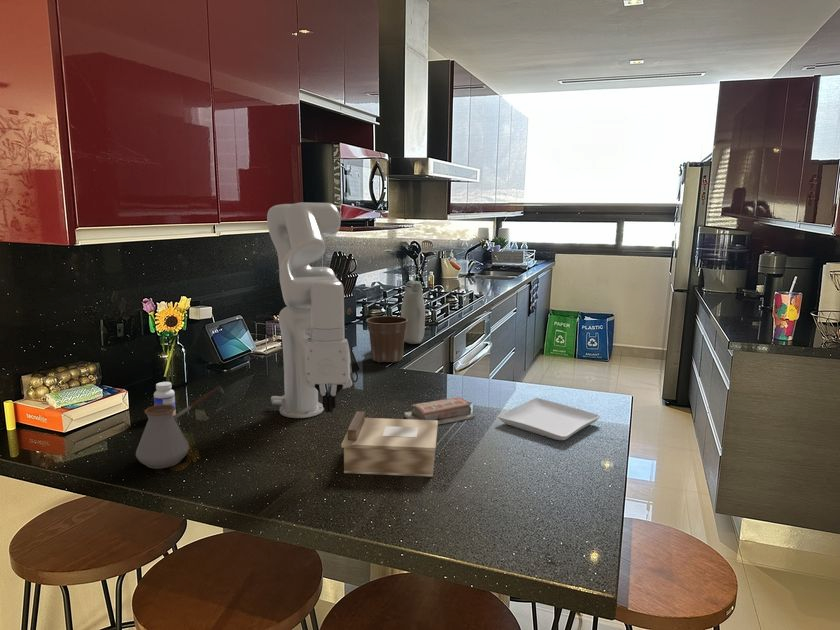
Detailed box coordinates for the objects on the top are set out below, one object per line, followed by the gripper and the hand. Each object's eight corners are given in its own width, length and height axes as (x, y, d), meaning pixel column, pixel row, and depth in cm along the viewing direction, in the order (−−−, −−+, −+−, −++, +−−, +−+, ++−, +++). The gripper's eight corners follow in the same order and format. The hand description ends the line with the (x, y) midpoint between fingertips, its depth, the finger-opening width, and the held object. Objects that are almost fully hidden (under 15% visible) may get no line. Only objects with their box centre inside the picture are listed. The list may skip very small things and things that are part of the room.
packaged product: (457, 393, 172) (475, 403, 163) (457, 408, 172) (475, 419, 164) (403, 401, 163) (419, 413, 155) (403, 417, 164) (419, 429, 156)
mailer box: (344, 472, 129) (343, 448, 128) (356, 444, 144) (356, 421, 143) (432, 476, 128) (433, 451, 126) (435, 447, 143) (435, 424, 142)
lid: (341, 447, 127) (341, 433, 127) (354, 420, 144) (354, 408, 143) (435, 451, 126) (435, 437, 126) (437, 423, 142) (438, 410, 142)
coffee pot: (149, 477, 126) (143, 412, 123) (128, 461, 133) (123, 400, 130) (237, 448, 141) (234, 390, 138) (214, 435, 149) (211, 380, 146)
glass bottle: (396, 343, 252) (397, 280, 247) (413, 339, 259) (414, 278, 254) (411, 347, 245) (412, 282, 240) (428, 343, 252) (430, 280, 247)
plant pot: (357, 359, 224) (357, 319, 221) (386, 352, 237) (386, 314, 234) (387, 367, 214) (387, 325, 211) (415, 359, 226) (416, 319, 223)
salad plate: (564, 448, 144) (565, 435, 144) (495, 426, 158) (495, 414, 158) (601, 425, 160) (602, 414, 159) (535, 407, 174) (535, 396, 173)
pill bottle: (152, 416, 162) (149, 383, 160) (171, 411, 165) (168, 379, 164) (160, 421, 158) (157, 387, 156) (179, 416, 162) (177, 383, 160)
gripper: (291, 336, 128) (294, 415, 131) (357, 337, 127) (358, 416, 130) (300, 330, 135) (302, 404, 138) (362, 331, 134) (363, 406, 137)
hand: (329, 410), depth 134 cm, fingers closed
